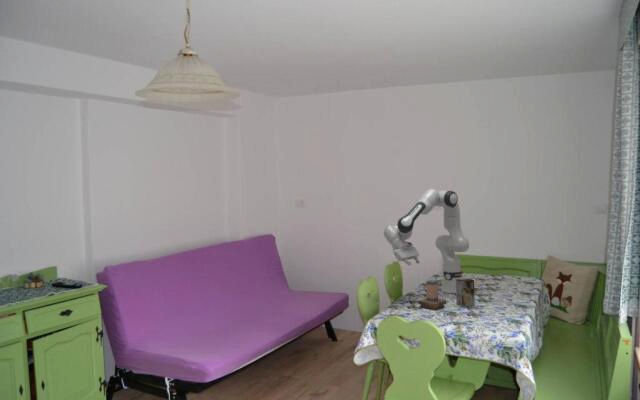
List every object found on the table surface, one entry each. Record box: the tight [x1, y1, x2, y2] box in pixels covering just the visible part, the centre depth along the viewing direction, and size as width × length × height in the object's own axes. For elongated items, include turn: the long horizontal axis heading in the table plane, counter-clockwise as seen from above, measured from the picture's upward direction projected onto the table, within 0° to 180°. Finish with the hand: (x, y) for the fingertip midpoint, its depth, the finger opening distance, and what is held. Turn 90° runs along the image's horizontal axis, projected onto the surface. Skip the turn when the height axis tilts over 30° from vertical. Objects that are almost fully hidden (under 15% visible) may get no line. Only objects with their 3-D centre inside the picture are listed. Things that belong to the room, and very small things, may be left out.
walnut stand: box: [418, 298, 447, 311], centre depth 307 cm, size 12×12×4 cm
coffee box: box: [455, 277, 476, 308], centre depth 310 cm, size 9×6×16 cm
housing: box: [425, 279, 439, 302], centre depth 307 cm, size 5×5×12 cm
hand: (414, 263), depth 315 cm, fingers open, 8 cm apart
